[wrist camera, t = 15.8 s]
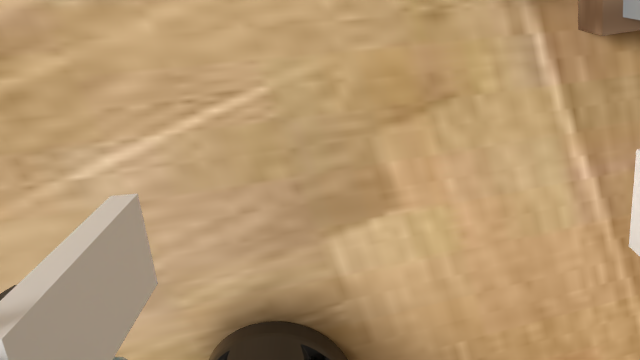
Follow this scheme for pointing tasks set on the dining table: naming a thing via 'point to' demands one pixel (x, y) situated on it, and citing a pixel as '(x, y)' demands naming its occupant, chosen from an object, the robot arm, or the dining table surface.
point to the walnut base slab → (604, 17)
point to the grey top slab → (631, 9)
